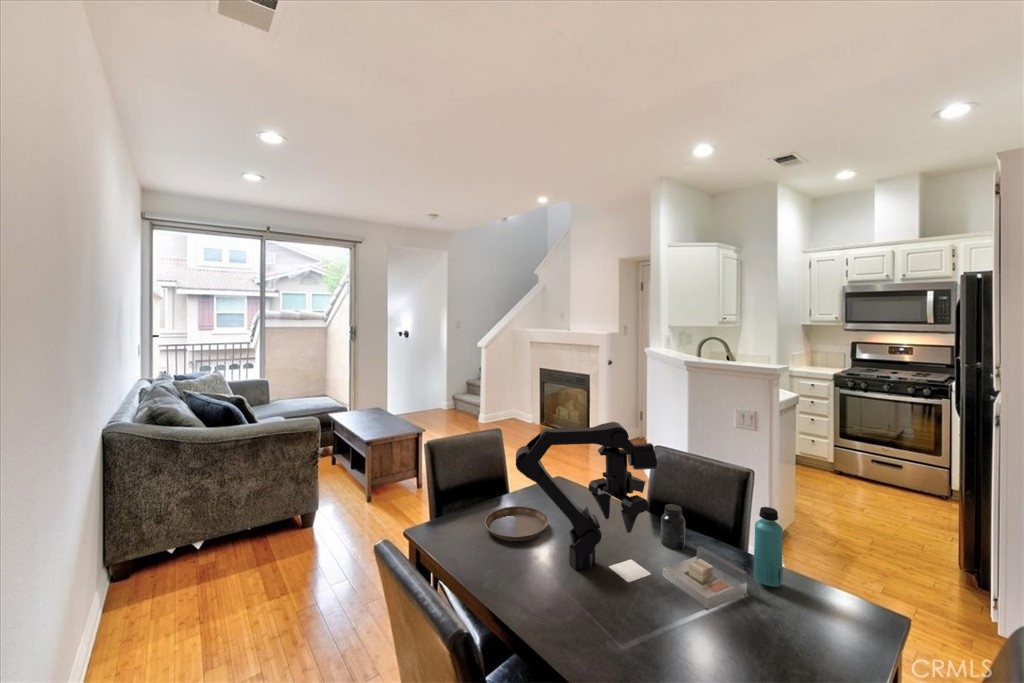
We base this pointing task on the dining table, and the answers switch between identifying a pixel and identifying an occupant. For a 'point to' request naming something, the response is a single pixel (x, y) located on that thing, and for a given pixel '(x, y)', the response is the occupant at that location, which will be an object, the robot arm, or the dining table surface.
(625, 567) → the white square tile
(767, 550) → the beverage bottle
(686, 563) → the plate
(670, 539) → the supplement bottle
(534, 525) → the plant saucer
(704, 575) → the birch peg
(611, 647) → the dining table surface
